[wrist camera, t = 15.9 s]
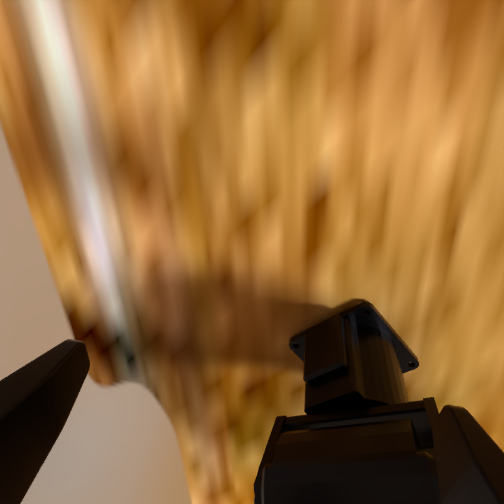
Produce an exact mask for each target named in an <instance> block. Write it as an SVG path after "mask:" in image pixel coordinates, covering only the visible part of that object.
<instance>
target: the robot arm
mask: <svg viewBox="0 0 504 504" xmlns="http://www.w3.org/2000/svg"><path fill="white" fill-rule="evenodd" d="M364 309H368V311H363V310H364ZM294 343H298V344H294ZM289 347H290V349H291V350H292V351H293V352H294V353H295V354H296V355H297V356H298V357H299V358H300V359H301V360H303V361H304V373H303V379H304V381H305V409H304V411H305V413H306V414H307V415H300V416H292V417H286V416H278V417H276V420H275V423H274V426H273V428H272V431H271V434H270V437H269V440H268V443H267V446H266V449H265V452H264V455H263V458H262V461H261V463H260V466H259V469H258V473H257V476H256V479H255V482H254V493H255V498H254V504H504V452H503V451H502V450H501V449H500V448H499V446H498V445H497V444H496V443H495V442H494V441H493V440H492V438H491V437H490V436H489V435H488V434H487V433H486V431H485V430H484V429H483V428H482V427H481V426H480V424H479V423H478V422H477V421H476V420H475V419H474V417H473V416H472V415H471V414H470V413H469V412H468V411H467V410H466V409H465V408H463V407H459V406H454V405H445V406H444V407H443V409H442V410H441V412H440V414H439V412H438V409H437V406H436V403H435V400H434V397H430V398H423V400H421V401H413V402H409V399H408V395H407V391H406V387H405V383H404V378H403V373H406V372H408V371H411V370H414V369H416V368H418V366H419V362H418V359H417V357H416V356H415V354H414V353H413V352H412V351H411V350H410V349H409V347H408V346H407V345H406V344H405V343H404V341H403V340H402V339H401V338H400V337H399V335H398V334H397V333H396V332H395V331H394V330H393V328H392V327H391V326H390V325H389V324H388V322H387V321H386V320H385V319H384V318H383V316H382V315H381V314H380V313H379V312H378V311H377V309H376V308H375V307H374V306H373V305H372V304H371V303H369V302H363V303H360V304H358V305H356V306H354V307H352V308H350V309H348V310H346V311H344V312H342V313H340V314H338V315H335V316H333V317H331V318H329V319H327V320H325V321H323V322H321V323H319V324H317V325H315V326H313V327H311V328H309V329H307V330H306V331H304V332H302V333H300V334H298V335H296V336H294V337H292V338H291V339H290V340H289ZM409 362H411V363H409ZM89 367H90V361H89V357H88V353H87V349H86V345H85V343H84V342H83V341H78V340H72V339H68V340H65V341H64V342H62V343H60V344H59V345H57V346H55V347H54V348H52V349H51V350H49V351H47V352H46V353H44V354H43V355H41V356H39V357H38V358H36V359H35V360H33V361H31V362H30V363H28V364H26V365H25V366H23V367H22V368H20V369H18V370H17V371H15V372H14V373H12V374H10V375H9V376H8V377H5V378H4V379H2V380H1V381H0V504H20V503H21V502H22V500H23V498H24V496H25V495H26V493H27V491H28V489H29V488H30V486H31V484H32V482H33V481H34V478H35V477H36V475H37V473H38V472H39V470H40V468H41V466H42V465H43V463H44V461H45V459H46V458H47V456H48V454H49V452H50V451H51V449H52V447H53V445H54V444H55V442H56V440H57V438H58V436H59V435H60V433H61V431H62V429H63V427H64V425H65V423H66V421H67V418H68V416H69V414H70V412H71V410H72V407H73V405H74V403H75V401H76V398H77V396H78V394H79V392H80V389H81V387H82V385H83V383H84V380H85V378H86V376H87V374H88V371H89Z"/></svg>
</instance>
